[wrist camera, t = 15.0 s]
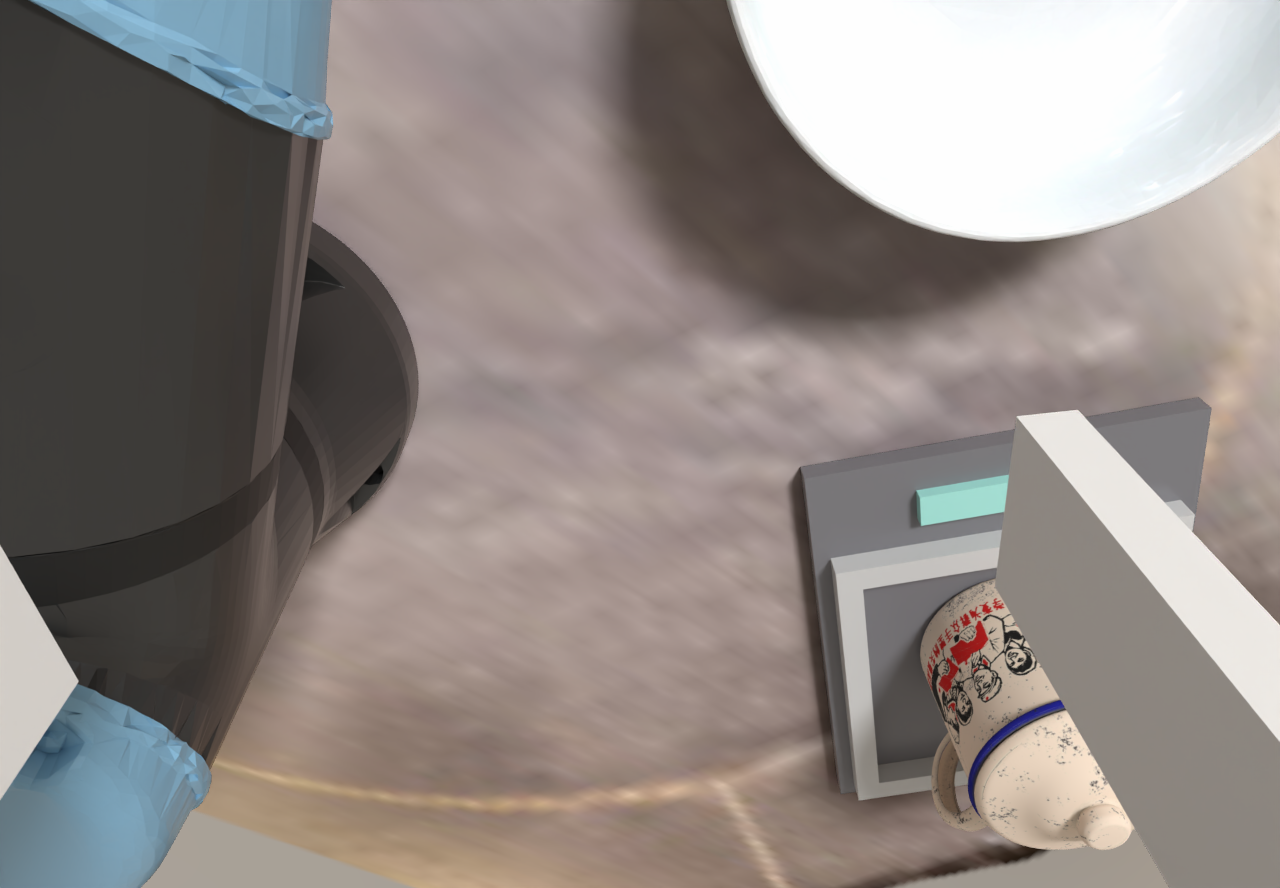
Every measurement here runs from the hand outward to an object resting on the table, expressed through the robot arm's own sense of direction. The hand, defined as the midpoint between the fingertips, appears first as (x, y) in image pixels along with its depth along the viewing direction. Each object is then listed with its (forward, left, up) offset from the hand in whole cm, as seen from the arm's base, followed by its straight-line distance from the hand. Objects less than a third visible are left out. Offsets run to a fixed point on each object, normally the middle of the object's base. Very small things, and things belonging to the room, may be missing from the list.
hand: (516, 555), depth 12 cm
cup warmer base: (+16, -28, -26) cm, 41 cm away
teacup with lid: (+15, -30, -25) cm, 42 cm away
